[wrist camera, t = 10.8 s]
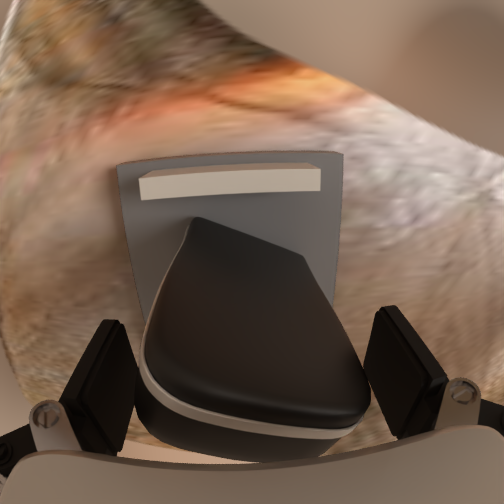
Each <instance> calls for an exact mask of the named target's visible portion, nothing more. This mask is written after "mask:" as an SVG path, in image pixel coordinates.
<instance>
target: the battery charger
mask: <svg viewBox="0 0 504 504" xmlns="http://www.w3.org/2000/svg"><path fill="white" fill-rule="evenodd" d="M370 402H371V388H370V385H369V382H368V379H367V376H366V374H365V372H364V369H363V367H362V365H361V363H360V360H359V358H358V356H357V354H356V352H355V350H354V348H353V346H352V344H351V342H350V340H349V338H348V336H347V334H346V332H345V330H344V328H343V326H342V324H341V322H340V321H339V319H338V317H337V315H336V313H335V312H334V310H333V308H332V306H331V305H330V303H329V301H328V300H327V298H326V296H325V294H324V293H323V291H322V290H321V288H320V286H319V285H318V283H317V281H316V279H315V277H314V276H313V274H312V272H311V270H310V268H309V266H308V264H307V262H306V260H305V258H304V256H302V255H301V254H298V253H296V252H293V251H291V250H288V249H286V248H283V247H280V246H278V245H275V244H273V243H270V242H267V241H265V240H262V239H259V238H257V237H254V236H252V235H249V234H246V233H243V232H241V231H238V230H235V229H232V228H230V227H227V226H224V225H221V224H219V223H216V222H213V221H210V220H207V219H205V218H202V217H195V218H193V219H192V221H191V223H190V225H189V226H188V227H187V229H186V232H185V236H184V239H183V241H182V244H181V246H180V248H179V250H178V252H177V254H176V255H175V257H174V259H173V261H172V262H171V264H170V266H169V268H168V270H167V272H166V274H165V276H164V278H163V280H162V282H161V285H160V287H159V289H158V292H157V294H156V297H155V299H154V302H153V305H152V308H151V311H150V314H149V317H148V320H147V324H146V327H145V330H144V334H143V338H142V341H141V345H140V353H139V367H138V371H137V375H136V381H135V395H134V405H135V408H136V412H137V415H138V418H139V420H140V421H141V422H142V424H143V425H144V426H145V428H146V429H147V430H148V432H149V433H150V434H151V435H153V436H154V437H156V438H157V439H159V440H160V441H162V442H164V443H166V444H169V445H172V446H174V447H177V448H180V449H184V450H188V451H192V452H197V453H201V454H206V455H211V456H216V457H221V458H227V459H232V460H239V461H248V462H259V463H268V462H280V461H290V460H299V459H307V458H314V457H319V456H320V455H322V454H323V453H325V452H326V451H327V450H328V449H329V448H330V447H331V446H332V445H334V444H335V443H336V442H337V441H338V440H339V439H340V438H341V437H343V436H345V435H347V434H349V433H350V432H351V431H352V430H353V429H354V428H355V427H357V426H358V425H359V423H360V422H361V421H362V419H363V417H364V413H365V412H366V410H367V409H368V407H369V405H370Z"/></svg>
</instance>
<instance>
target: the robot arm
mask: <svg viewBox="0 0 504 504" xmlns="http://www.w3.org/2000/svg"><path fill="white" fill-rule="evenodd" d="M363 367H364V372H365V374H366V376H367V379H368V381H369V383H370V385H371V388H372V390H373V392H374V394H375V397H376V399H377V401H378V403H379V406H380V408H381V410H382V413H383V415H384V417H385V420H386V422H387V424H388V427H389V429H390V431H391V434H392V435H393V436H396V437H397V439H398V440H397V441H393V442H389V443H385V444H381V445H377V446H373V447H368V448H364V449H359V450H355V451H350V452H345V453H339V454H334V455H328V456H321V457H314V458H307V459H299V460H290V461H280V462H268V463H252V464H188V463H187V464H186V463H171V462H159V461H149V460H141V459H132V458H124V457H117V452H120V451H121V450H122V448H123V444H124V440H125V437H126V433H127V429H128V425H129V422H130V418H131V415H132V411H133V408H134V395H135V381H136V375H137V371H138V366H137V363H136V361H135V358H134V355H133V352H132V349H131V346H130V343H129V339H128V336H127V333H126V330H125V327H124V325H123V324H120V322H119V321H118V320H109V319H104V320H103V321H102V322H101V324H100V325H99V327H98V329H97V331H96V332H95V334H94V336H93V338H92V339H91V341H90V343H89V345H88V346H87V348H86V350H85V352H84V354H83V355H82V357H81V359H80V361H79V363H78V364H77V366H76V368H75V370H74V372H73V374H72V376H71V378H70V380H69V382H68V383H67V385H66V387H65V389H64V391H63V393H62V395H61V397H60V399H59V401H55V400H45V401H41V402H40V403H38V404H36V405H35V406H34V407H33V408H32V410H31V412H30V415H29V424H27V425H25V426H23V427H21V428H18V429H16V430H14V431H12V432H10V433H8V434H5V435H3V436H1V437H0V504H504V406H502V405H499V404H496V403H493V402H490V401H487V400H484V399H481V392H480V389H479V387H478V386H477V385H476V384H475V383H474V382H473V381H471V380H469V379H467V378H461V377H460V378H454V379H452V380H450V381H449V379H448V378H447V375H446V373H445V372H444V370H443V369H442V367H441V366H440V364H439V363H438V362H437V360H436V359H435V357H434V356H433V355H432V353H431V352H430V350H429V349H428V348H427V346H426V345H425V343H424V342H423V341H422V339H421V338H420V337H419V335H418V334H417V332H416V331H415V330H414V328H413V327H412V326H411V324H410V323H409V322H408V320H407V319H406V318H405V317H404V315H403V314H402V313H401V311H400V310H399V309H398V307H397V306H395V305H392V306H384V307H381V308H380V309H379V311H377V312H376V313H375V317H374V322H373V327H372V331H371V335H370V340H369V344H368V348H367V352H366V356H365V360H364V364H363Z"/></svg>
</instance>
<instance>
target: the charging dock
mask: <svg viewBox="0 0 504 504" xmlns="http://www.w3.org/2000/svg"><path fill="white" fill-rule="evenodd" d="M116 167H117V176H118V184H119V192H120V200H121V207H122V214H123V220H124V226H125V232H126V238H127V244H128V249H129V254H130V260H131V265H132V270H133V274H134V279H135V284H136V288H137V293H138V297H139V301H140V305H141V309H142V313H143V317H144V321H145V325H146V324H147V320H148V317H149V314H150V311H151V308H152V305H153V302H154V299H155V297H156V294H157V292H158V289H159V287H160V285H161V282H162V280H163V278H164V276H165V274H166V272H167V270H168V268H169V266H170V264H171V262H172V261H173V259H174V257H175V255H176V254H177V252H178V250H179V248H180V246H181V244H182V241H183V239H184V236H185V232H186V229H187V227H188V226H189V225H190V223H191V221H192V219H193V218H195V217H202V218H205V219H207V220H210V221H213V222H216V223H219V224H221V225H224V226H227V227H230V228H232V229H235V230H238V231H241V232H243V233H246V234H249V235H252V236H254V237H257V238H259V239H262V240H265V241H267V242H270V243H273V244H275V245H278V246H280V247H283V248H286V249H288V250H291V251H293V252H296V253H298V254H301V255H302V256H304V258H305V260H306V262H307V264H308V266H309V268H310V270H311V272H312V274H313V276H314V277H315V279H316V281H317V283H318V285H319V286H320V288H321V290H322V291H323V293H324V294H325V296H326V298H327V300H328V301H329V303H330V305H331V306H332V308H333V300H334V291H335V282H336V272H337V262H338V251H339V238H340V224H341V208H342V187H343V154H342V153H338V152H335V151H255V152H230V153H213V154H199V155H186V156H175V157H165V158H156V159H147V160H139V161H131V162H125V163H122V164H119V165H117V166H116Z"/></svg>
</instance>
